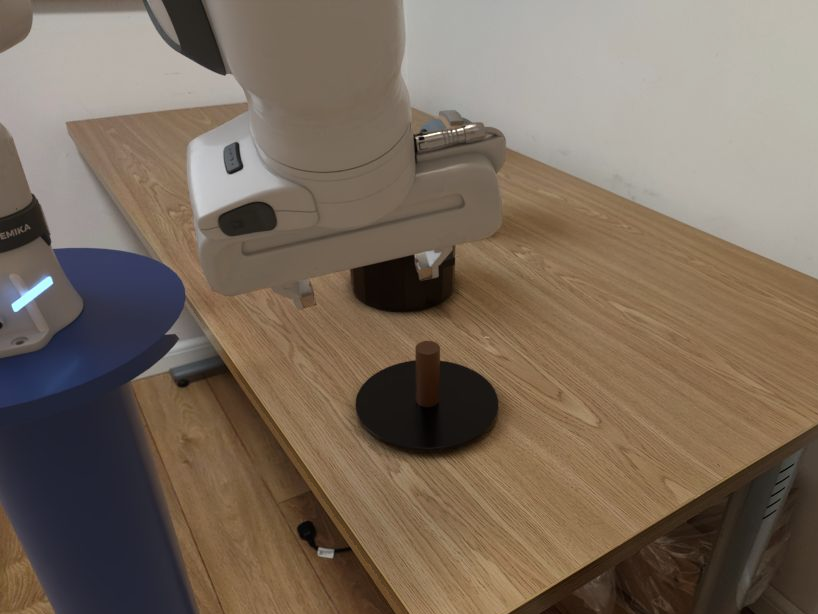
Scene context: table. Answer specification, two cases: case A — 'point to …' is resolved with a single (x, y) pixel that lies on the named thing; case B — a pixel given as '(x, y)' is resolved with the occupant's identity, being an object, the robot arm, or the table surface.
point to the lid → (427, 403)
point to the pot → (402, 284)
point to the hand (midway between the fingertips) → (367, 286)
